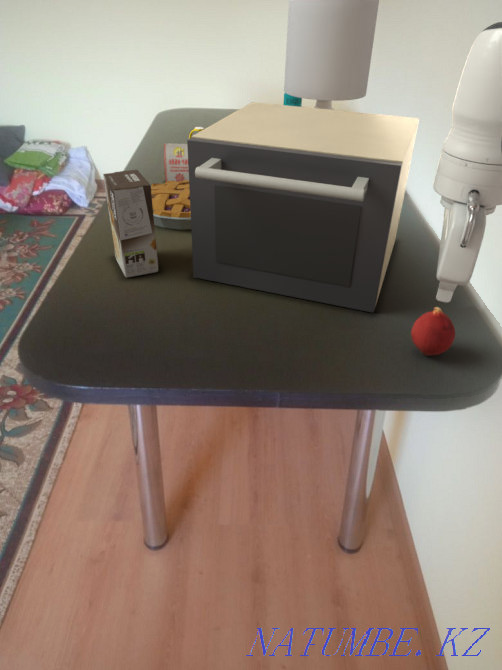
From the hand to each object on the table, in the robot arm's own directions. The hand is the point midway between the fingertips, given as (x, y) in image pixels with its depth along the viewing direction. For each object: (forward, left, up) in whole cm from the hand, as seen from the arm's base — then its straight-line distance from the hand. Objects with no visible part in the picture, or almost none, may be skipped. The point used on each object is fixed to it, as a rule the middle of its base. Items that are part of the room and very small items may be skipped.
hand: (444, 281), depth 68 cm
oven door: (+25, -6, -12) cm, 28 cm away
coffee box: (+53, -9, -12) cm, 55 cm away
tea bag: (+65, -52, -12) cm, 84 cm away
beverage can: (+51, -106, -12) cm, 118 cm away
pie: (+55, -35, -12) cm, 66 cm away
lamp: (+36, -82, -12) cm, 90 cm away
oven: (+25, -24, -12) cm, 36 cm away
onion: (0, 0, -12) cm, 12 cm away
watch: (+74, -84, -12) cm, 112 cm away
